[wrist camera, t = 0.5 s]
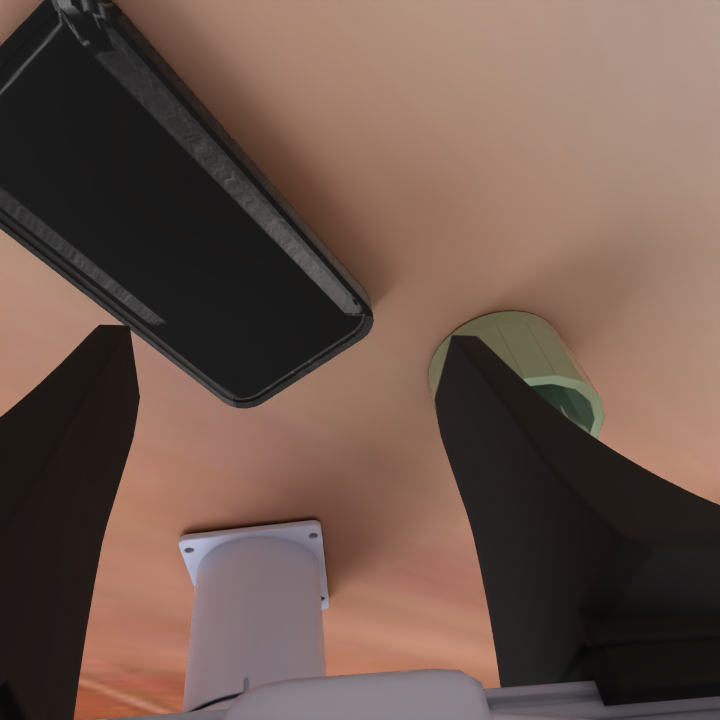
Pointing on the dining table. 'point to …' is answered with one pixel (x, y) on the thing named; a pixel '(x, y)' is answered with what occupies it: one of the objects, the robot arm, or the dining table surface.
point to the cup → (530, 359)
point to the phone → (161, 209)
